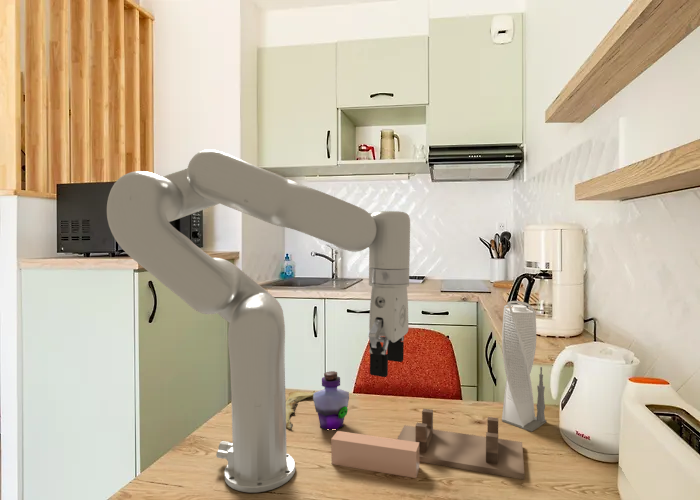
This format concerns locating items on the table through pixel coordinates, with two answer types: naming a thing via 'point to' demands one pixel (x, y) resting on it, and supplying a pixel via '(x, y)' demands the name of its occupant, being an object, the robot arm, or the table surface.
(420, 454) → the rack
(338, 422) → the potion bottle
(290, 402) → the animal bone
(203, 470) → the table surface
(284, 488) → the table surface
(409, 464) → the pink rectangular block
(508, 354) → the skyscraper
